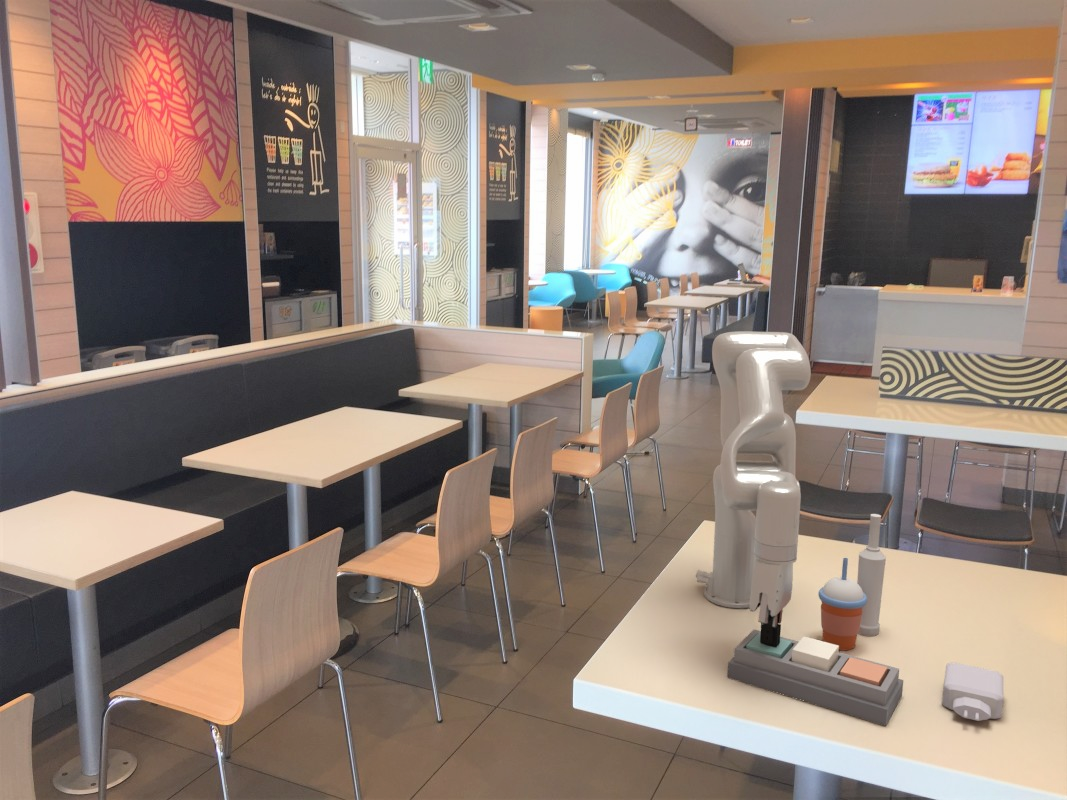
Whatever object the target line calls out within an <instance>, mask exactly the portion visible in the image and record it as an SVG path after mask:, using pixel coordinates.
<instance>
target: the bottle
mask: <svg viewBox="0 0 1067 800" xmlns="http://www.w3.org/2000/svg"><path fill="white" fill-rule="evenodd" d="M881 520H882V515H880V514H878V513H870V517H869V530H868V531H869V532H868V544H867V545H866V547H865V549H863V550H862V551H861V550H860V551H859V553H858V564H857V565H858V567H857V581H856V583H857V584H858V585H859V586H860V587H861V589H862V591H863V593H864V594H865V595H866V597H867V603H866V605H865V606H863V607H862V611H863V613H862V618H861V623H860V628H859V633H858V634H857V635H861V636H865V637H866V636H867V637H874V636H877V635H879V631H880V628H881V627H880V626H881V624H880V622H879V621H880V612H881V605H882V604H881V603H882V595H883V584H884V577H885V576H884V575H885V570H886V559H887V556H886V555H885V554H884V553H883V552H882V551H881V547H879V544H880V531H881V530H880V529H881Z"/></svg>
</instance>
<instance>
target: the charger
mask: <svg viewBox="0 0 1067 800" xmlns="http://www.w3.org/2000/svg"><path fill="white" fill-rule="evenodd" d="M943 679H944V680H943V689H942V690H943V691H942V697H941V698H942V699H941V705H942V706H943V707H944V708H947V709H949V710H952V711H954V713H956V714H957V715H959V716H960V717H962V718H964V719H969V720H973V721H978V722H980V721H981V722H982V721H986V720H989V719H992V720H999V719H1001V718H1002V715H1003V708H1004V697H1005V696H1004V675H1003V674H1002V673H1000V672H998V671H996V670H993V669H987V668H982V667H977V666H974V665H973V666H972V665H968V664H964V663H957V662H949V663H947V664H946V666H945V671H944V678H943Z"/></svg>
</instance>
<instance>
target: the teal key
mask: <svg viewBox="0 0 1067 800" xmlns="http://www.w3.org/2000/svg"><path fill="white" fill-rule="evenodd" d="M760 634H761V633H758V634H757V635H756V636H755V637H754V638H753V639H752V640H751V641H750V642H749V643H748V644H747V645H746V649H749V650H752V651H756V652H759V653H763V654H767V655H770V656H774V657H777V658H781V659H782V658H783V657H784V656H785V655H786V654H787V652H788V651H789V650H790V649H791V648H792V641H789V640H785V639H782V638H780V644H779V645H778V646H777V647H772V646H768V645H764V644H761V643H760Z"/></svg>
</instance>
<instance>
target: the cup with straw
mask: <svg viewBox="0 0 1067 800" xmlns="http://www.w3.org/2000/svg"><path fill="white" fill-rule="evenodd" d="M848 562H849V558H847V557H843V558H842V570H841V571H842V572H841V576H838V577H834V578H831V579H829V580H828V581H826V583H824V584H823V586H822V587H821V588H820V589H819V590H818V598H819V600H820V601H821V604H820V620H821V621H820V622H821V623H820V625H821V629H822V641H823V642H827V643H831V644H835V645H838V646H839V651H849V650H853V649H854V648H855V647H856V645H857V644H856V642H857V639H858V635H859V634H858V633H859V628H860V623H861V618H862V613H863V611H862V607H863V606H865V605H866V603H867V597H866V595H865V594H864V593H863V591H862V589H861V587H860V586H859V585H858V584H857V581H855V580H853V579H851V578H849V577H848V575H847V574H848V565H849V564H848Z"/></svg>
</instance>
